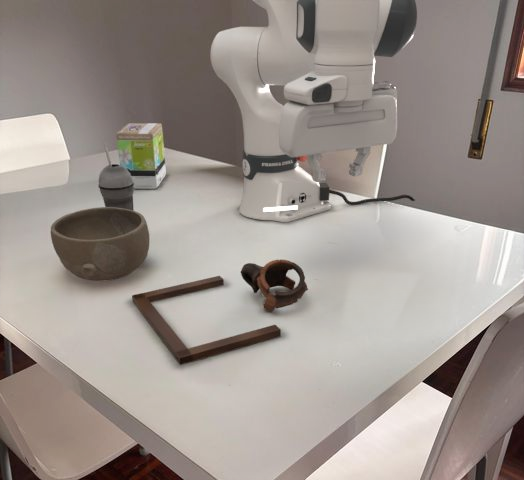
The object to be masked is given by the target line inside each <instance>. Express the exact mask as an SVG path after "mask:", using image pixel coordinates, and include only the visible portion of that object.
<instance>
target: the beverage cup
mask: <svg viewBox="0 0 524 480" xmlns="http://www.w3.org/2000/svg"><path fill="white" fill-rule="evenodd" d="M102 143H103V146H104V150H105V151H104V152H105V154H106V158H107V159H106V160H107V163H108V165H106V166H105V167H104V168H103V169H102V170H101V171H100V173H99V176H98V188H99V193H100V195H101V197H102V199H103V203H104V207H117V208H124V209H129V210H133V211H135V210H134V190H135V189H134V187H133V185H134V183H133V180H132V177H131V174H130V173H129V171H128V170H127V169H126V168H124V167H123V166H121V165H120V164H118V163H116V164H115V163H113V164H112V161H111V156H110V153H109V150H108V145H107V142H106V141H103V142H102Z"/></svg>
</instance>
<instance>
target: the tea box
mask: <svg viewBox="0 0 524 480" xmlns="http://www.w3.org/2000/svg"><path fill="white" fill-rule="evenodd" d="M115 134H116V144H117V151H118V160H119V165H121V166H123V167H124V168H126V169H127V170H128V171H129V173H130V174H131V177H132V180H133V183H134V185H133V187H134V190H144V189H145V190H154V189H155V190H157V189H158V187H159V186H160V185H161V183H162V181H163V180H164V178H165V177H166V176H167V168H166V167H167V166H166V155H165V144H164V143H165V142H164V131H163V124H162V123H161V122H159V123H158V122H157V123H152V122H151V123H149V122H148V123H147V122H145V123H144V122H143V123H141V122H139V123H137V122H135V123H134V122H130V123H129V122H128V123H127V124H126V125H124V126H123V127H122V128H121V129H120V130H118V131H117V132H116V133H115Z"/></svg>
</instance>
